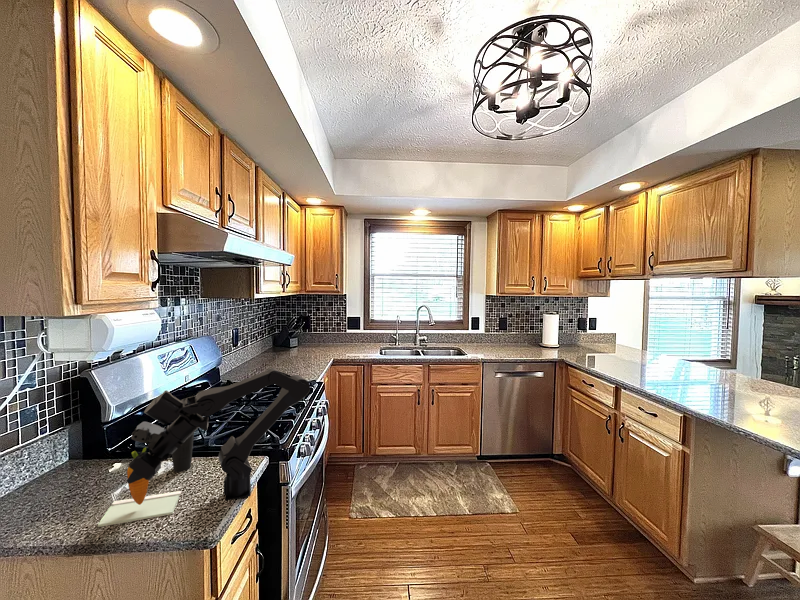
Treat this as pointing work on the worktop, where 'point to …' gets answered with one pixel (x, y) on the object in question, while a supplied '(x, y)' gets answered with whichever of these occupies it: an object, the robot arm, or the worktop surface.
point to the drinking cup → (183, 456)
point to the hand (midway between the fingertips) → (133, 477)
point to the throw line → (147, 498)
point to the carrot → (138, 484)
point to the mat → (139, 511)
